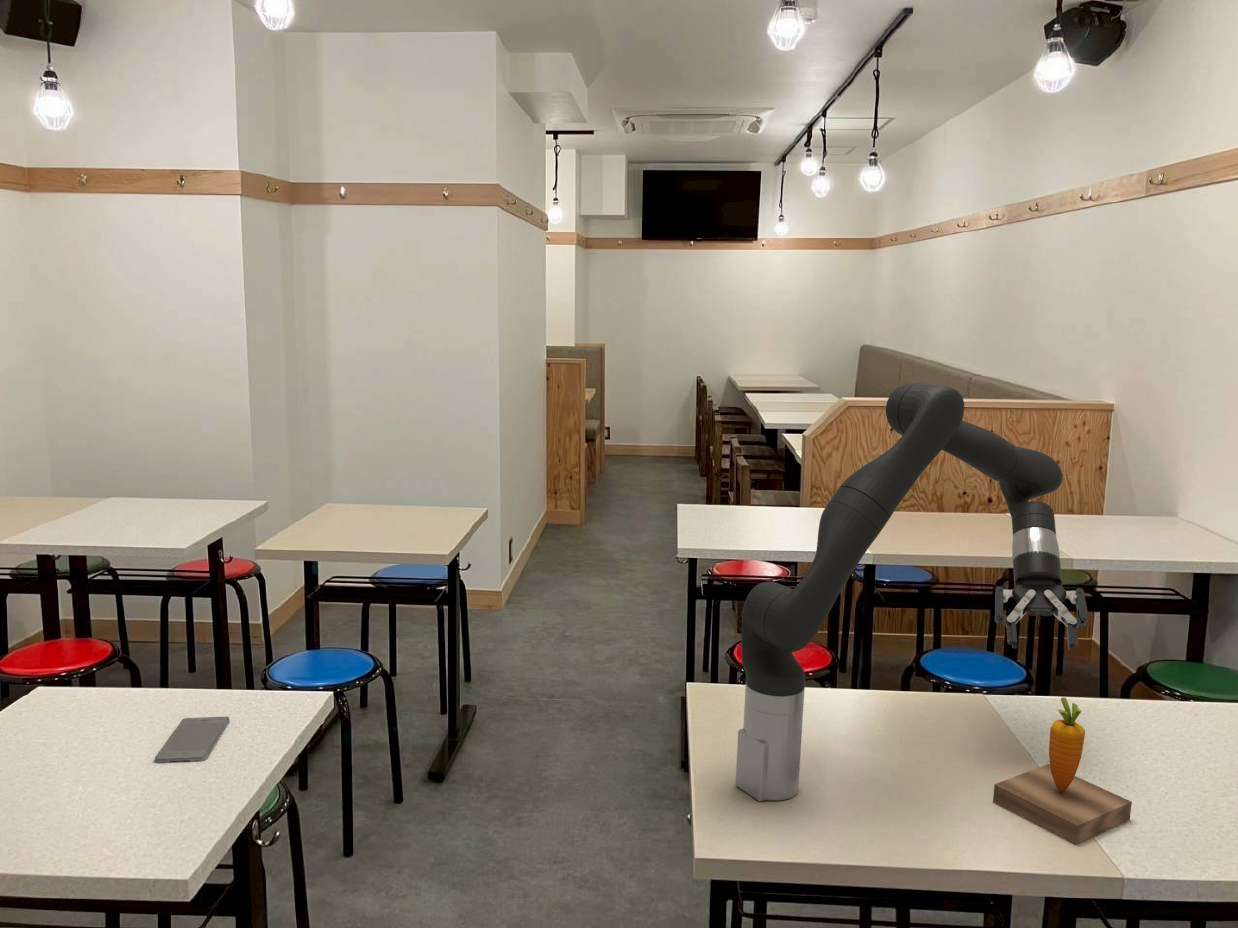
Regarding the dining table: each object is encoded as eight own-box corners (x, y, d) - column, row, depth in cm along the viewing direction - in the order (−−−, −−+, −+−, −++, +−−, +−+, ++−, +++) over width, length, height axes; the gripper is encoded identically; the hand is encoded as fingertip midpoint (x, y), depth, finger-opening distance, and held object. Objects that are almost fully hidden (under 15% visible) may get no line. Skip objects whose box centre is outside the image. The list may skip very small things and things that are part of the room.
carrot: (1082, 801, 144) (1092, 708, 141) (1047, 797, 145) (1057, 705, 142) (1074, 786, 149) (1083, 695, 146) (1040, 782, 150) (1049, 692, 147)
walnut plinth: (1075, 844, 137) (1077, 825, 137) (992, 801, 149) (994, 784, 149) (1129, 819, 145) (1131, 801, 144) (1046, 780, 157) (1048, 763, 156)
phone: (153, 766, 154) (153, 759, 154) (183, 724, 170) (182, 717, 170) (206, 764, 155) (205, 756, 155) (230, 722, 171) (230, 715, 171)
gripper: (992, 549, 163) (997, 637, 155) (1083, 549, 159) (1093, 640, 150) (991, 568, 169) (995, 654, 161) (1079, 569, 164) (1088, 658, 156)
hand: (1042, 647), depth 156 cm, fingers open, 8 cm apart
